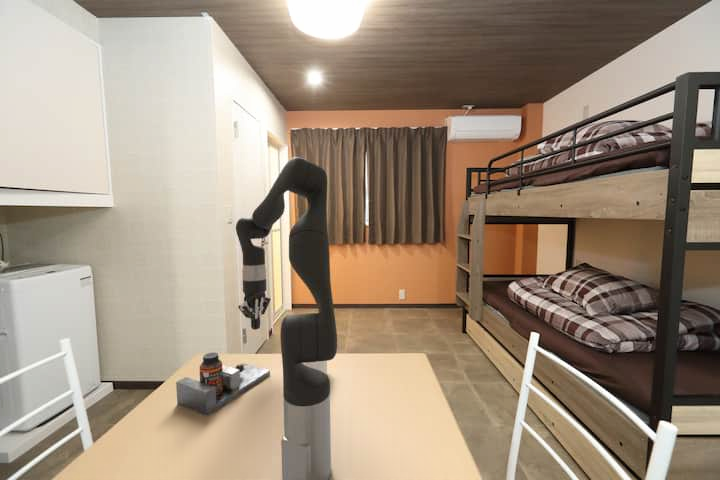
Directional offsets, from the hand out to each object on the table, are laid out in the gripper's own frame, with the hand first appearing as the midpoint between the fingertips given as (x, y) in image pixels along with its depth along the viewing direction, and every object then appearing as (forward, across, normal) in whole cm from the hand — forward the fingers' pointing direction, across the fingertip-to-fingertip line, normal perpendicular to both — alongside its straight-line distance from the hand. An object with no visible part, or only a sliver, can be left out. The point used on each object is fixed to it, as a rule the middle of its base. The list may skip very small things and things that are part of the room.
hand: (255, 328), depth 109 cm
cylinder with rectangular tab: (+15, +5, -19) cm, 25 cm away
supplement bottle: (+13, -18, 0) cm, 23 cm away
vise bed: (+14, -13, 0) cm, 19 cm away
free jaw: (+13, -11, 0) cm, 17 cm away
